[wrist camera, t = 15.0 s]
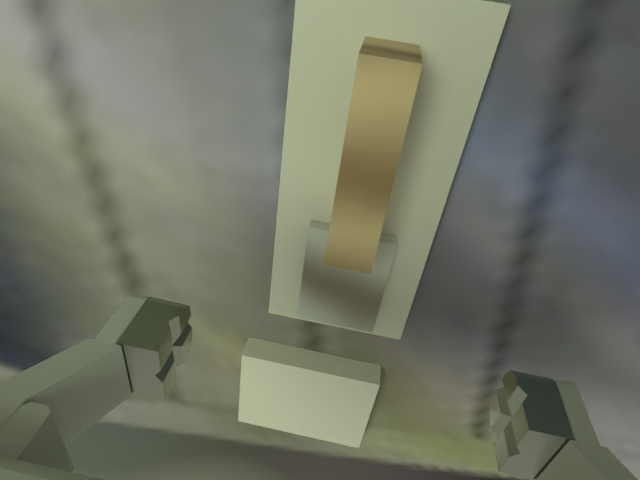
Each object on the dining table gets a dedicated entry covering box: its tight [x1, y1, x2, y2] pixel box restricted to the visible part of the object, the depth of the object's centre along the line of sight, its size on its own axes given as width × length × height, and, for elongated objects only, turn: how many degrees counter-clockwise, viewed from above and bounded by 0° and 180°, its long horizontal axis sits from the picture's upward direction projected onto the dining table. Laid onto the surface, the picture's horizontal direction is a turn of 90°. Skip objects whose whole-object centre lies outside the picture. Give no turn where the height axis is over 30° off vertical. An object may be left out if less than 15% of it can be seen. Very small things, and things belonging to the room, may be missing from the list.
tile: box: [238, 337, 381, 448], centre depth 35 cm, size 2×10×8 cm
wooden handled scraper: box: [297, 36, 423, 333], centre depth 23 cm, size 17×5×4 cm, turn 173°
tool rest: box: [269, 0, 511, 340], centre depth 25 cm, size 20×9×1 cm, turn 173°
